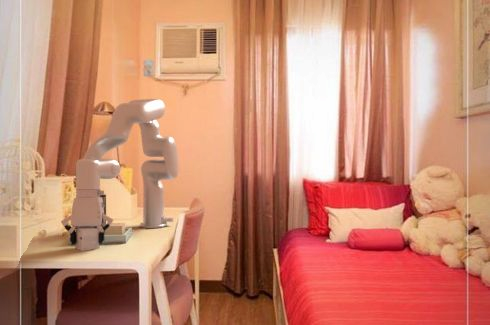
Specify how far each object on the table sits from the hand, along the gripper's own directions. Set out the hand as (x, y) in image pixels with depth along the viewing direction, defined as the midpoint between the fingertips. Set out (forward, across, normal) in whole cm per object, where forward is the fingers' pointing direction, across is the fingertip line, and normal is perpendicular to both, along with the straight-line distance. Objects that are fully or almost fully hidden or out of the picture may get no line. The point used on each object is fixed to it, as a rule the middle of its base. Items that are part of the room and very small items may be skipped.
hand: (87, 243), depth 114 cm
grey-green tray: (+2, -2, -12) cm, 12 cm away
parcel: (+2, -7, -12) cm, 14 cm away
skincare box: (+2, 0, 0) cm, 2 cm away
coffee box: (+2, +5, -26) cm, 27 cm away
